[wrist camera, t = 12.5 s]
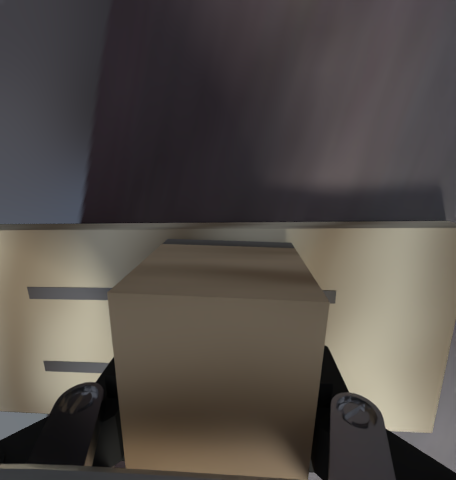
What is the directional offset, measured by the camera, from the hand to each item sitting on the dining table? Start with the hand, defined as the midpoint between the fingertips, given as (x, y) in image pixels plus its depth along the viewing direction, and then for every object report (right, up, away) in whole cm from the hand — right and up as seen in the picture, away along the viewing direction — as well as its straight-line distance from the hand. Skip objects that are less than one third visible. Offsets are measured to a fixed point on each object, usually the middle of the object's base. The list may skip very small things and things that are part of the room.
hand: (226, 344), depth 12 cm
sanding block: (0, 0, 0) cm, 0 cm away
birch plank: (-2, 0, +2) cm, 3 cm away
